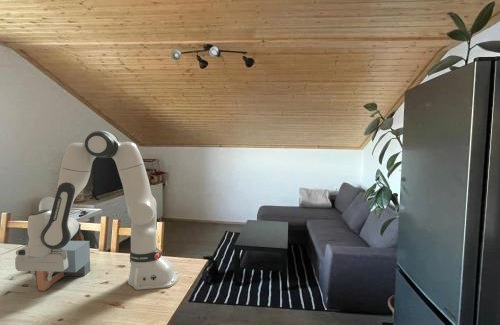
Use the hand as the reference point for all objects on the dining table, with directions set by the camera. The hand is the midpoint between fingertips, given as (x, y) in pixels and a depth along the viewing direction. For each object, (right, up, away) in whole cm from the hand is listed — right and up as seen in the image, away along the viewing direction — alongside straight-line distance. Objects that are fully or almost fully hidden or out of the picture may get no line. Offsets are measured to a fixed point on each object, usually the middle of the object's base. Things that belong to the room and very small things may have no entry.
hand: (43, 280), depth 126 cm
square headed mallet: (+1, -3, +5) cm, 6 cm away
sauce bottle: (-2, -2, +29) cm, 29 cm away
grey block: (+1, -3, +12) cm, 13 cm away
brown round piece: (-1, -3, +9) cm, 10 cm away
